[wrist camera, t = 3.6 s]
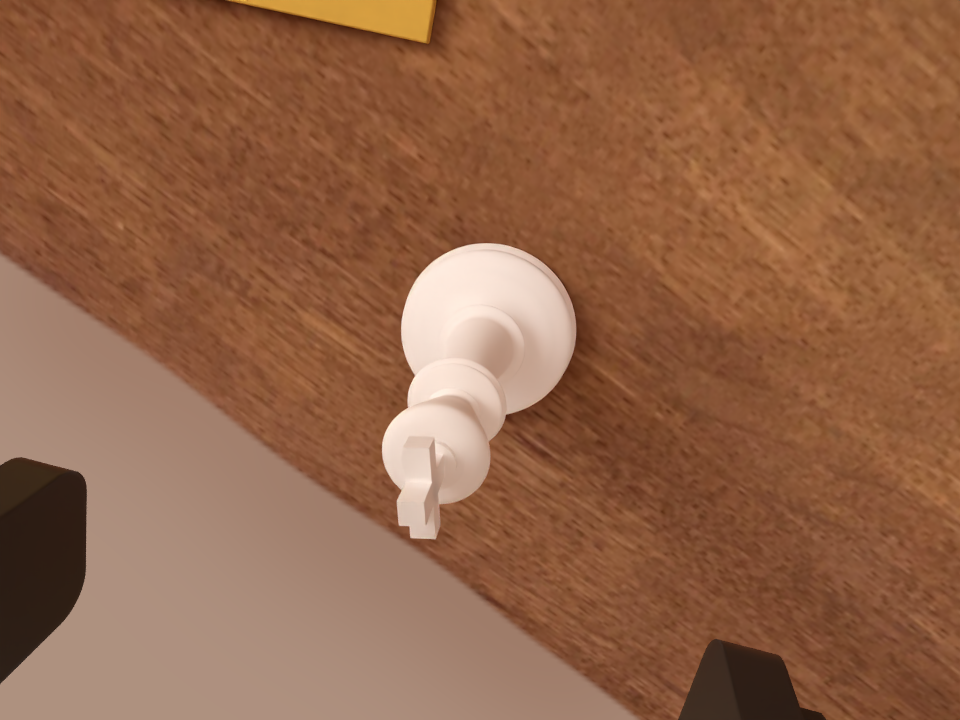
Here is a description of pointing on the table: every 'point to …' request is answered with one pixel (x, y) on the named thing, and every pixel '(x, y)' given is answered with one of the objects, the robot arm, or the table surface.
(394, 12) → the ochre mat
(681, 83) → the table surface
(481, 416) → the chess piece
